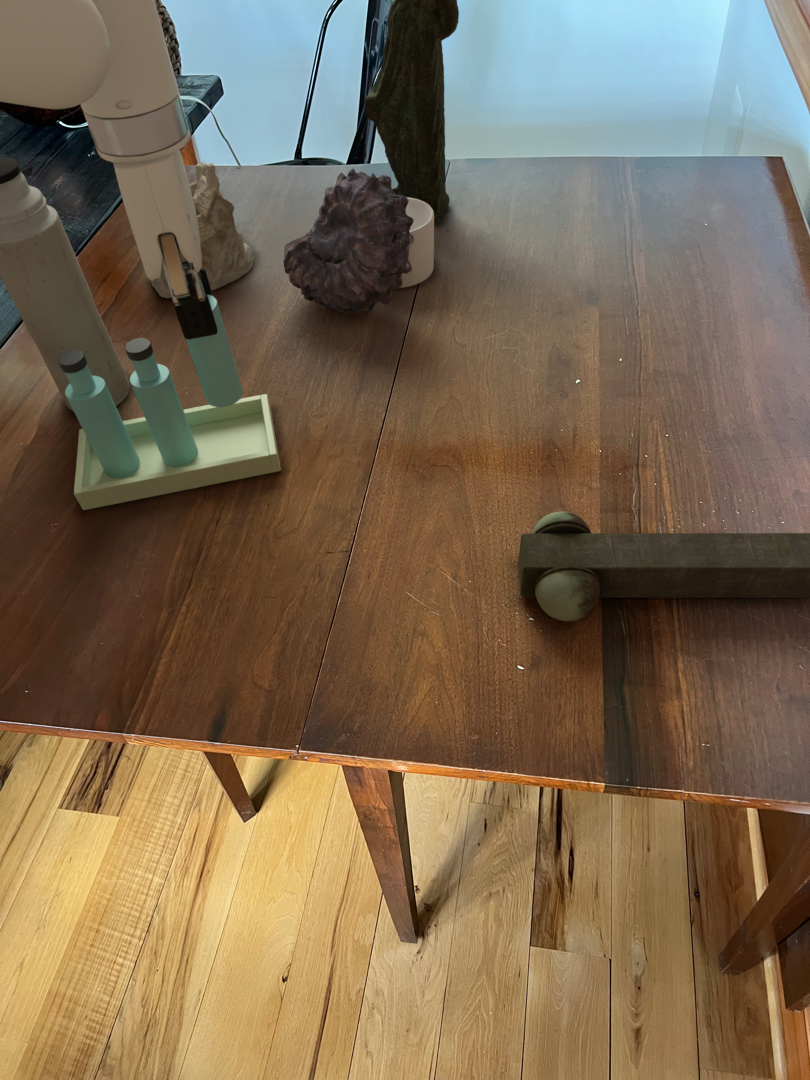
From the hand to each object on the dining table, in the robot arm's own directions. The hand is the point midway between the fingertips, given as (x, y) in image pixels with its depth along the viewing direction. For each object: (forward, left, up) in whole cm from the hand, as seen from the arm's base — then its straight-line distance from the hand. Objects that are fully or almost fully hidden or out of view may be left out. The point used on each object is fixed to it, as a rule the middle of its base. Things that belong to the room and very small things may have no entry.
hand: (200, 319), depth 75 cm
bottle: (0, 0, -9) cm, 9 cm away
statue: (+31, +47, -17) cm, 59 cm away
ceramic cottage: (-3, +42, -17) cm, 45 cm away
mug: (+24, +32, -17) cm, 44 cm away
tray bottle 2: (-7, 0, -16) cm, 17 cm away
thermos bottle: (-17, +15, -17) cm, 28 cm away
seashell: (+21, +27, -10) cm, 36 cm away
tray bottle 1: (-13, 0, -16) cm, 21 cm away
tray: (-7, 0, -17) cm, 18 cm away
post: (+41, -27, -14) cm, 51 cm away
